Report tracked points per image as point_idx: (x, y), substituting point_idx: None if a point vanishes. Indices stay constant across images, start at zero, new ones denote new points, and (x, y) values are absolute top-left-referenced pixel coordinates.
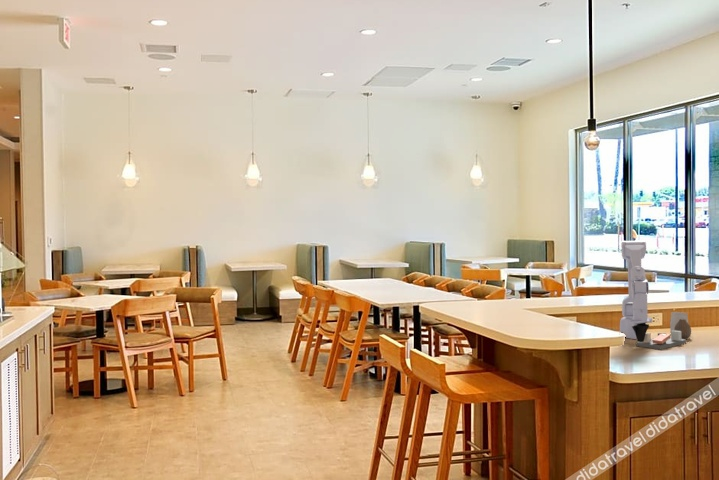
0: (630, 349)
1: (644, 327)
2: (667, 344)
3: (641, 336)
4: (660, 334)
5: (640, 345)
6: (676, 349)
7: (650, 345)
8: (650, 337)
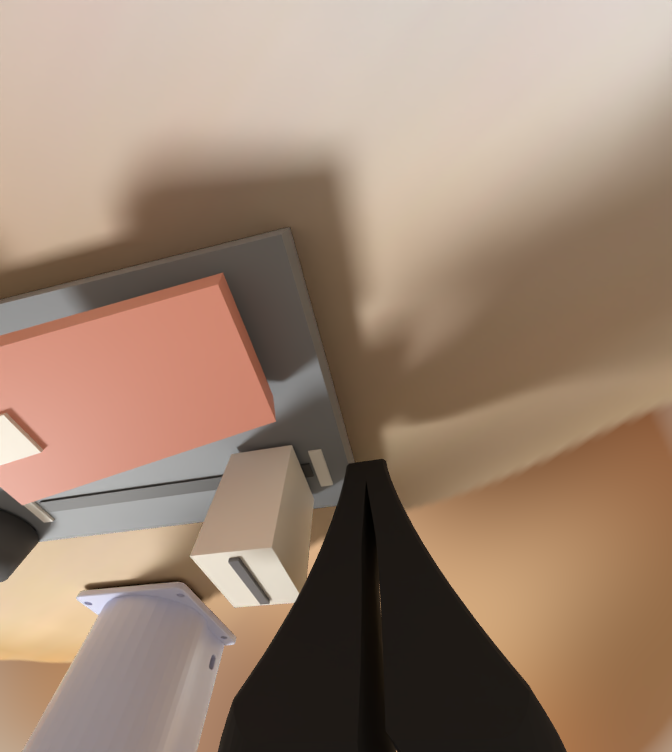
0: (545, 409)
1: (448, 701)
2: (107, 277)
3: (400, 519)
4: (51, 486)
5: (350, 455)
6: (64, 86)
7: (325, 374)
8: (219, 497)
